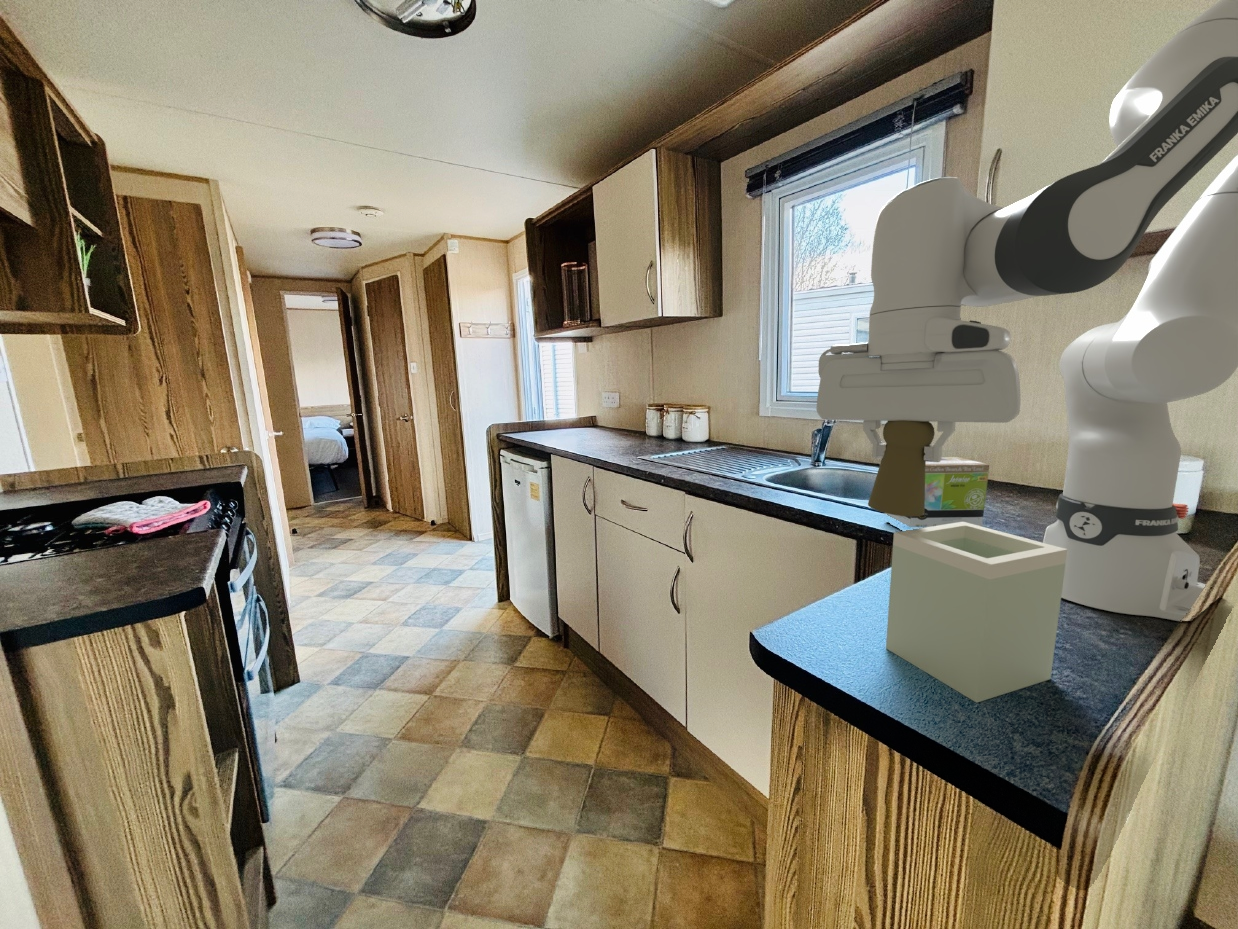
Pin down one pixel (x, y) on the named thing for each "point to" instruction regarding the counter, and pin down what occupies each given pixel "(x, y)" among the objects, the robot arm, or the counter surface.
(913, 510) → the cork
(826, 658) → the counter surface
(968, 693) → the open top box
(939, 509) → the tea box
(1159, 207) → the robot arm
